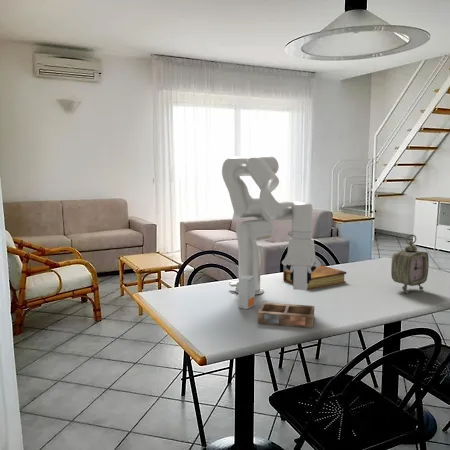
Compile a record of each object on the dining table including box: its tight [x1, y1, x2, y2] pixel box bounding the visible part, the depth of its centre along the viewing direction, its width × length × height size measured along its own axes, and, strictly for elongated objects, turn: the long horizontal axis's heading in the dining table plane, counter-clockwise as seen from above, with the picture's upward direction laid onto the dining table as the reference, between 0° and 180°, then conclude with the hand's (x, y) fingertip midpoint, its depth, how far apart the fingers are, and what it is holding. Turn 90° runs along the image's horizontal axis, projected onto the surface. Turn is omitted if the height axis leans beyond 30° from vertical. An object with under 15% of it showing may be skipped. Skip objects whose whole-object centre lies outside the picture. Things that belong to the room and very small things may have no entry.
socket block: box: [257, 302, 315, 329], centre depth 158 cm, size 19×12×4 cm, turn 76°
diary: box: [282, 264, 347, 290], centre depth 212 cm, size 23×19×6 cm
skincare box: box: [238, 275, 256, 310], centre depth 174 cm, size 6×4×12 cm
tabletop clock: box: [390, 234, 430, 295], centre depth 194 cm, size 14×9×25 cm, turn 123°
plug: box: [292, 265, 308, 291], centre depth 169 cm, size 5×5×11 cm
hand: (300, 281), depth 169 cm, fingers closed on plug, 5 cm apart
